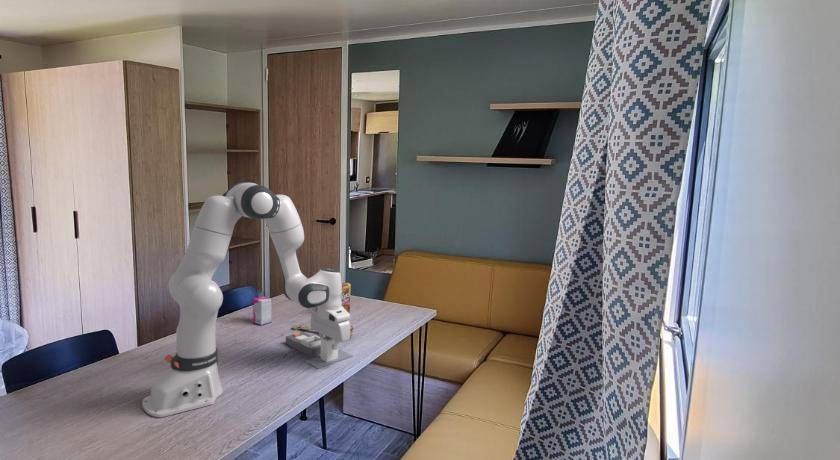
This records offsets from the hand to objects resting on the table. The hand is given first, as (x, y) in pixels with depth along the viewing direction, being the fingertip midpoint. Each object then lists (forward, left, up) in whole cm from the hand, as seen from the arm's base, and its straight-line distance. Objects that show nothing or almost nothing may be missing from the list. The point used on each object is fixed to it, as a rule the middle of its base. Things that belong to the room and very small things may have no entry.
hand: (329, 346), depth 181 cm
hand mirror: (+13, +24, -6) cm, 28 cm away
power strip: (0, +15, -5) cm, 16 cm away
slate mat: (0, 0, -5) cm, 5 cm away
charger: (0, 0, -5) cm, 5 cm away
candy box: (+34, +38, -5) cm, 51 cm away
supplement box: (+1, +52, -5) cm, 52 cm away
